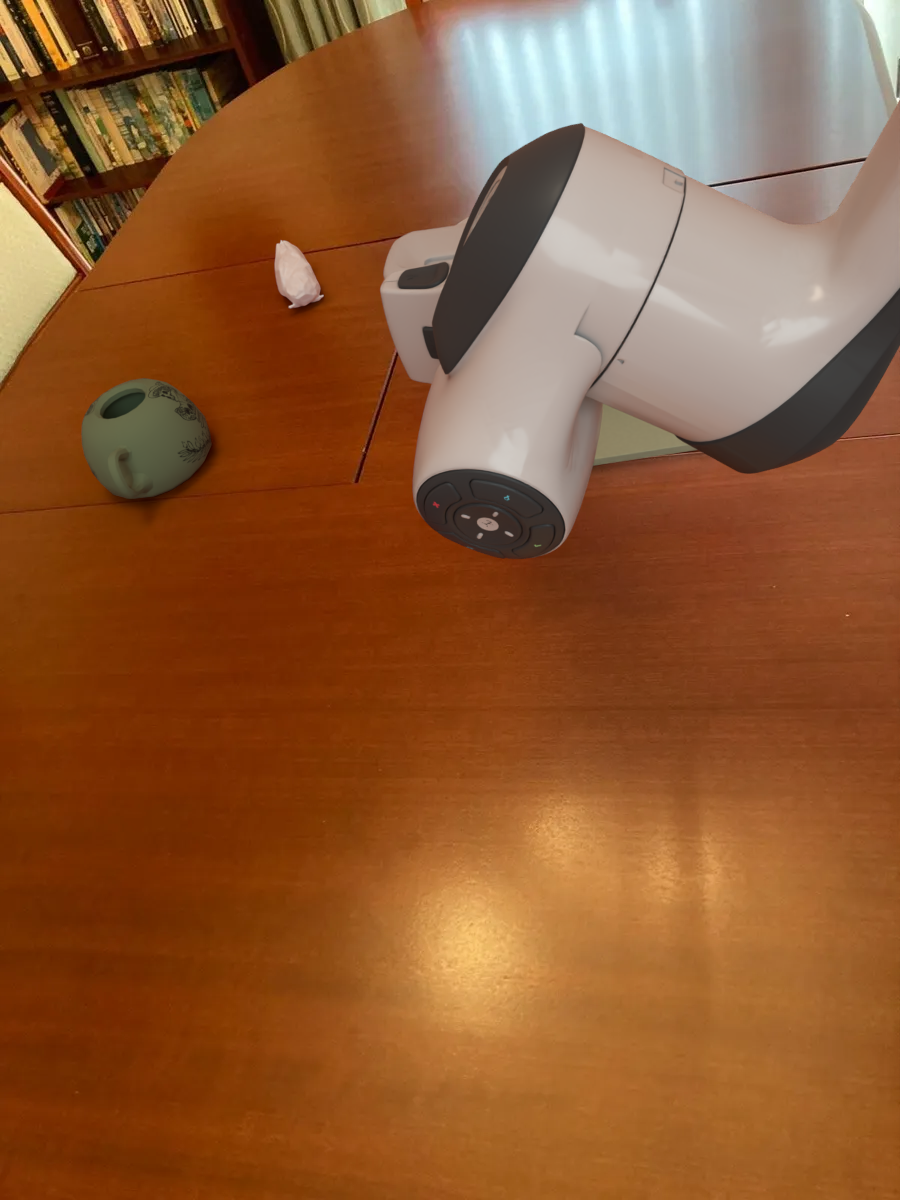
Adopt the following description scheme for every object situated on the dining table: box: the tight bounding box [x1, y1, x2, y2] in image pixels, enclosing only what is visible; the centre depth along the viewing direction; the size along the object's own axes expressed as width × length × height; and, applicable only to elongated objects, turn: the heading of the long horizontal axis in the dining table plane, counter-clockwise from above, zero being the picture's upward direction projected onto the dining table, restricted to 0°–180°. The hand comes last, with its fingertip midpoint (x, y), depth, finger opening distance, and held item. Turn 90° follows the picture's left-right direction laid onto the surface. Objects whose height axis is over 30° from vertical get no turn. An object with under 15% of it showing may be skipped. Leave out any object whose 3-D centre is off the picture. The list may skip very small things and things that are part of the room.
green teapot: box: [80, 377, 213, 500], centre depth 90 cm, size 16×13×9 cm
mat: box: [593, 404, 698, 467], centre depth 83 cm, size 20×20×1 cm
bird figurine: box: [274, 239, 324, 309], centre depth 110 cm, size 5×7×10 cm
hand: (564, 199), depth 58 cm, fingers open, 8 cm apart
